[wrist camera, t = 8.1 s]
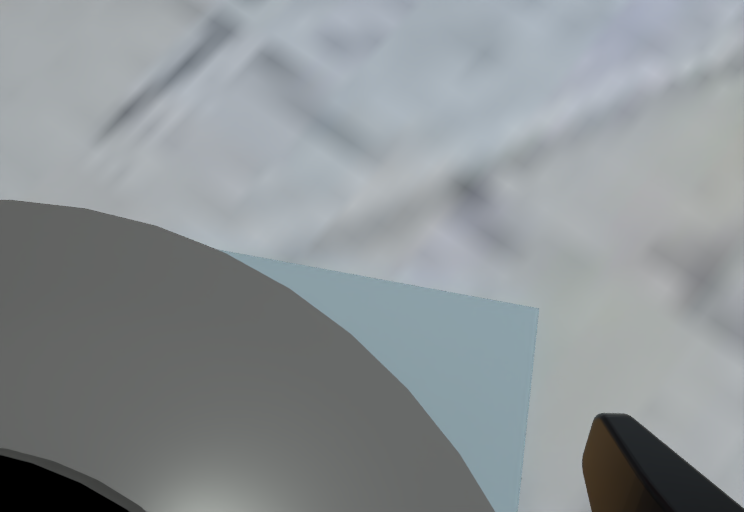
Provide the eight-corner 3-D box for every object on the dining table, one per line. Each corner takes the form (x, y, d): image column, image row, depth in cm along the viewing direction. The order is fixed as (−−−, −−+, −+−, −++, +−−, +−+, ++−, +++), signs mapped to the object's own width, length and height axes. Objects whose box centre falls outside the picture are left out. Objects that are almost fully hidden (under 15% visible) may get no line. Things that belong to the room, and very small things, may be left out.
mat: (484, 759, 16) (490, 771, 16) (33, 675, 16) (22, 684, 16) (533, 312, 19) (539, 308, 19) (156, 242, 19) (150, 237, 19)
